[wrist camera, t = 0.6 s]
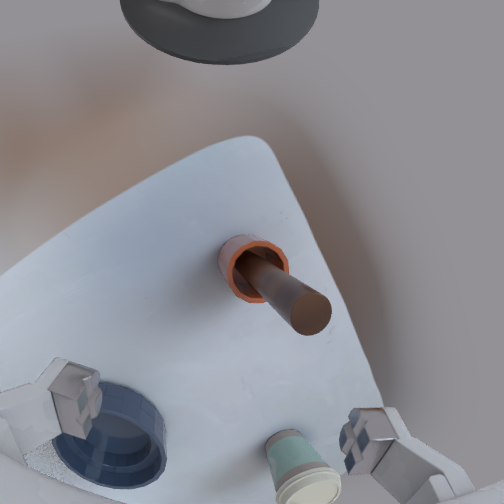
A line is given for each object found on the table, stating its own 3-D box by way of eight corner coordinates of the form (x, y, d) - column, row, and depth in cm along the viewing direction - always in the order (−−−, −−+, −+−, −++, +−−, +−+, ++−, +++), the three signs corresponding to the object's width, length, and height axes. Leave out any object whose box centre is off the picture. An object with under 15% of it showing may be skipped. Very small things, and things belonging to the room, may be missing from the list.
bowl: (44, 395, 32) (30, 421, 26) (132, 366, 35) (127, 393, 29) (99, 467, 35) (95, 495, 29) (183, 446, 38) (186, 475, 32)
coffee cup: (250, 433, 40) (275, 494, 28) (307, 414, 41) (345, 467, 30) (261, 469, 41) (285, 525, 30) (313, 451, 43) (346, 501, 31)
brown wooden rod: (229, 254, 35) (284, 304, 18) (252, 246, 35) (325, 285, 18) (238, 276, 35) (297, 342, 18) (259, 267, 36) (336, 324, 19)
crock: (209, 246, 35) (217, 255, 28) (260, 226, 36) (278, 231, 29) (228, 294, 36) (239, 312, 30) (276, 274, 37) (297, 288, 31)
